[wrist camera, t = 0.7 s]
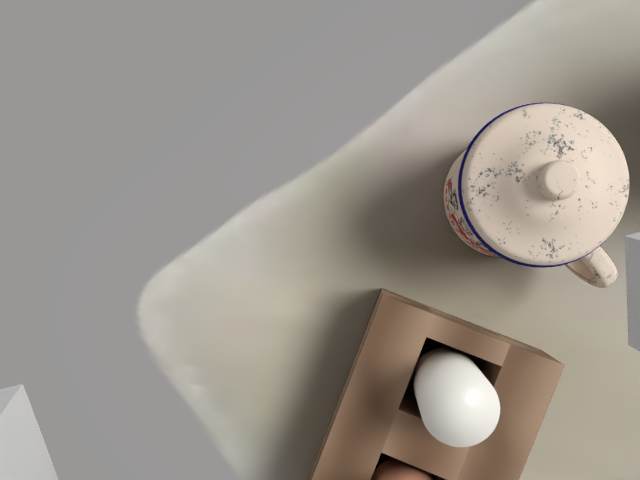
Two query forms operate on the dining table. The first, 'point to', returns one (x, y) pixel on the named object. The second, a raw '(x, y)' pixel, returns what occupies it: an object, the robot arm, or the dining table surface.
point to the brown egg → (399, 471)
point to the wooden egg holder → (402, 410)
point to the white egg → (454, 398)
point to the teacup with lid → (541, 190)
